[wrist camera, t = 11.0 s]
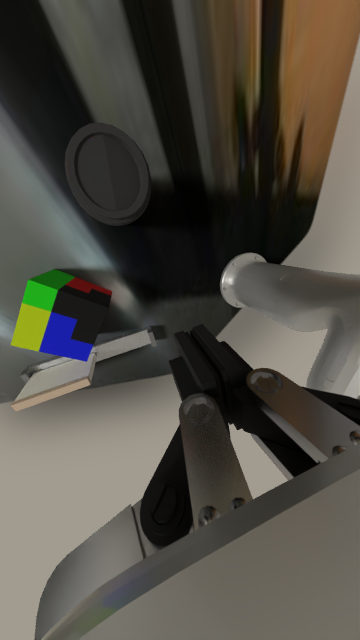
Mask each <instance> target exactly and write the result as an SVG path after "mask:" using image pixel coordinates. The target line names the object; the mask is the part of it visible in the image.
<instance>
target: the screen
mask: <svg viewBox="0 0 360 640" xmlns="http://www.w3.org/2000/svg"><path fill="white" fill-rule="evenodd" d="M96 358H97V357H96V355H95V353H93V354H90V355H89V358H88V360H87V362H85V361H81V360H76V359H75V360H72V361H69V362H66V363H63V364H60V365H57V366H54V367H51V368H48V369H45V370H42V371H39V372H36V373H33V375H32V376H31V378H30V379H29V381H28V382H27V384H26V385H25V386H24V388H23V389H22V391H21V392H20V394H19V395H18V397H17V398H16V400H15V401H14V402H13V403H12V404H11V407H12V408H13V409H14V410H15V411H18V410H21V409H24V408H27V407H30V406H33V405H35V404H38V403H41V402H43V401H46V400H49V399H52V398H55V397H58V396H60V395H63V394H66V393H69V392H72V391H74V390H77V389H80V388H83V387H85V386H88V385H91V380H92V376H93V371H94V367H95V363H96Z"/></svg>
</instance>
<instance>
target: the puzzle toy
mask: <svg viewBox="0 0 360 640" xmlns="http://www.w3.org/2000/svg"><path fill="white" fill-rule="evenodd" d="M111 295H112V291H110V290H107V289H105V288H102V287H100V286H97V285H95V284H92V283H89V282H87V281H84V280H82V279H79V278H77V277H74V276H72V275H69V274H66V273H64V272H61V271H59V270H56V269H54V270H51V271H49V272H46V273H44V274H41V275H39V276H36V277H34V278H31V279H29V280H28V283H27V287H26V290H25V294H24V298H23V302H22V305H21V309H20V313H19V317H18V320H17V324H16V328H15V332H14V335H13V339H12V343H11V345H12V346H17V347H21V348H26V349H30V350H35V351H40V352H44V353H49V354H53V355H58V356H62V357H67V358H71V359H76V360H81V361H85V362H87V360H88V358H89V355H90V353H91V350H92V348H93V345H94V343H95V340H96V338H97V335H98V333H99V330H100V328H101V325H102V323H103V320H104V318H105V315H106V313H107V310H108V308H109V303H110V299H111Z"/></svg>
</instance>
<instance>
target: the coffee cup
mask: <svg viewBox="0 0 360 640" xmlns="http://www.w3.org/2000/svg"><path fill="white" fill-rule="evenodd" d="M65 170H66V177H67V180H68V183H69V185H70V188H71V191H72V193H73V195H74V196H75V198H76V199H77V201H78V202H79V204H80V206H81V207H82V208H83V209H84V210H85V211H86V212H87V213H88V214H89V215H91V216H92V217H94V218H95V219H97V220H98V221H100V222H103V223H106V224H108V225H116V226H121V225H126V224H130V223H132V222H133V221H135V220H137V219H138V218H139V217H140V216H141V215H142V214H143V213H144V211H145V209H146V207H147V205H148V203H149V199H150V194H151V176H150V172H149V167H148V164H147V162H146V159H145V157H144V155H143V153H142V151H141V150H140V149H139V147H138V146H137V144H136V143H135V142H134V141H133V140H132V139H131V138H130V137H129V136H128V135H127V134H126V133H124V132H123V131H122V130H120V129H118V128H116V127H114V126H113V125H108V124H104V123H93V124H88V125H86V126H84V127H82V128H81V129H79V130H78V131H77V133H76V134H75V135H74V136H73V137H72V138H71V140H70V142H69V145H68V147H67V150H66V156H65Z"/></svg>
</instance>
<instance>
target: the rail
mask: <svg viewBox="0 0 360 640" xmlns="http://www.w3.org/2000/svg"><path fill="white" fill-rule="evenodd" d="M150 343H151V344H152V347H154V346H157V344H156V341H155V338H154V335H153V332H152V329H151V326H149V327H146V328H143V329H140V330H137V331H134V332H130V333H127V334H124V335H121V336H118V337H115V338H112V339H109V340H106V341H103V342H100V343H97V344H94V345H93V348H92V350H91V353H90V354H93V353H95V355H96V357H97V358H96V362H97V361H100V360H103V359H106V358H109V357H112V356H115V355H118V354H121V353H124V352H127V351H130V350H133V349H136V348H138V347H141V346H144V345H147V344H150ZM72 360H75V359H71V358H67V357H62V356H57V357H54V358H51V359H48V360H44V361H41V362H38V363H35V364H32V365H29V366H27V367H26V368H25V370H24V371H23V372H22V374H21V375H20V377H21V378H22V379H23V380H24V381H25V383H26V384H27V382H28V381H29V379H30V378H31V376H32V375H33V373H36V372H39V371H42V370H45V369H48V368H51V367H54V366H57V365H60V364H63V363H66V362H69V361H72Z"/></svg>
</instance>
